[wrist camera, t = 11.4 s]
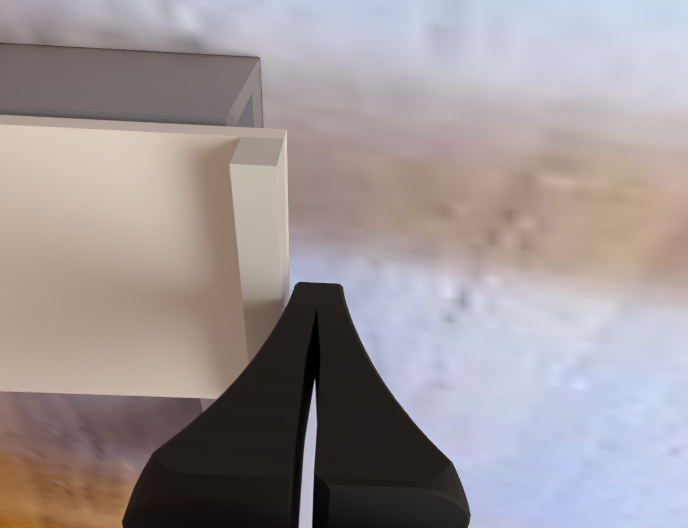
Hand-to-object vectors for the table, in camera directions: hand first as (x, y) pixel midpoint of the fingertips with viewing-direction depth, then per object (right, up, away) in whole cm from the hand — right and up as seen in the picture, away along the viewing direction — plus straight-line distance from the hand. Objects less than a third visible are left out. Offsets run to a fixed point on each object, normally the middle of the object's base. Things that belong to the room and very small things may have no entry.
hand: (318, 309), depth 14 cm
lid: (-8, +1, +1) cm, 8 cm away
